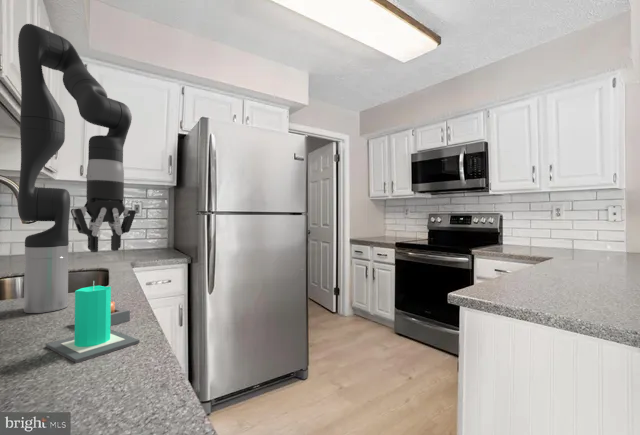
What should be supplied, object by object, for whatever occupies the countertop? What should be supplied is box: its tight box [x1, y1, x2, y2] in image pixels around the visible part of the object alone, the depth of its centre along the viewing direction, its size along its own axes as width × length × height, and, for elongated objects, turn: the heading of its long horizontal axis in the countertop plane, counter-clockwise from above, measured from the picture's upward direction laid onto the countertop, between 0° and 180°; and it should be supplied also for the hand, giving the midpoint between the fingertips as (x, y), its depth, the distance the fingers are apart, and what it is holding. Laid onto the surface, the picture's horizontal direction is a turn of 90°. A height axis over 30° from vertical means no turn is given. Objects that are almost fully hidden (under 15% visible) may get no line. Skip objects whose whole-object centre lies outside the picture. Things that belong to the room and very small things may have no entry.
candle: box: [74, 280, 112, 347], centre depth 65 cm, size 6×6×12 cm
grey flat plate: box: [45, 328, 140, 364], centre depth 65 cm, size 13×11×1 cm
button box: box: [111, 305, 131, 326], centre depth 78 cm, size 8×8×2 cm
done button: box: [111, 300, 116, 313], centre depth 79 cm, size 4×4×3 cm
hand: (104, 250), depth 79 cm, fingers open, 4 cm apart
